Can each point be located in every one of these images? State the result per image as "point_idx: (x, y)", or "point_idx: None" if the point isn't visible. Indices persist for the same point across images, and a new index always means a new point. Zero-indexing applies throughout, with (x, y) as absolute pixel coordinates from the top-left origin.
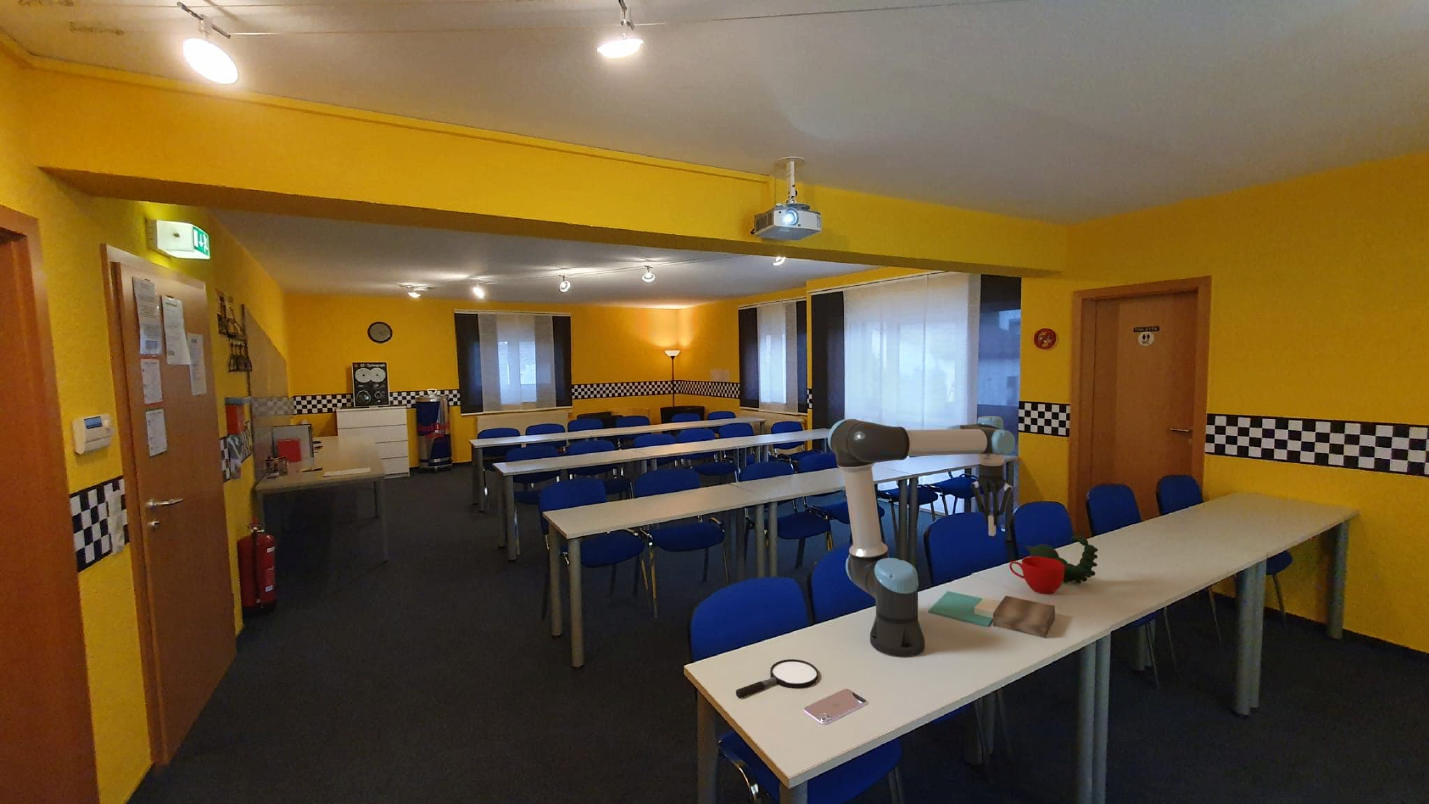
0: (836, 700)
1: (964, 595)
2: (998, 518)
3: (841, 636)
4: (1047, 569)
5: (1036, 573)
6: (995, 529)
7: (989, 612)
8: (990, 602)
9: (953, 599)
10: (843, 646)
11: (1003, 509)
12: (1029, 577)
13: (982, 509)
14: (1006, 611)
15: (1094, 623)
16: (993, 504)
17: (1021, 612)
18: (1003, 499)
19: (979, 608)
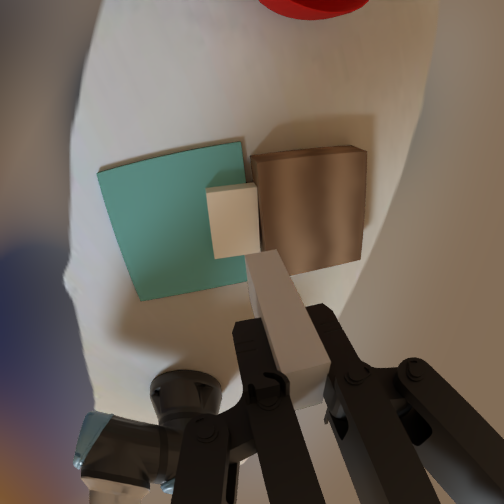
0: None
1: (141, 168)
2: (348, 350)
3: (130, 406)
4: (348, 11)
5: (310, 16)
6: (285, 273)
7: (249, 252)
8: (230, 204)
9: (137, 213)
10: (151, 415)
11: (424, 428)
12: (279, 11)
13: (238, 465)
14: (289, 255)
15: (406, 124)
16: (362, 493)
17: (316, 238)
18: (458, 495)
19: (226, 255)
